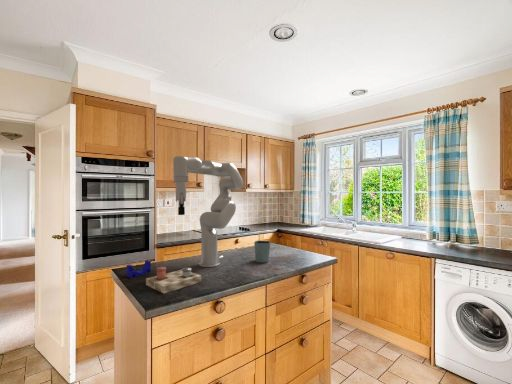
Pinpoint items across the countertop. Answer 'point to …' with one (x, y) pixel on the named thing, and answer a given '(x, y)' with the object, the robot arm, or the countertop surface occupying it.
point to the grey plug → (186, 272)
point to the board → (172, 281)
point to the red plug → (161, 273)
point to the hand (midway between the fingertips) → (181, 214)
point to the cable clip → (145, 269)
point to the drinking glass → (262, 251)
